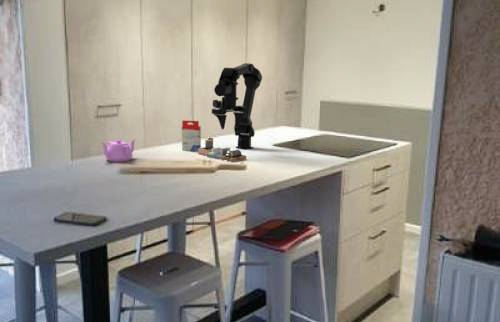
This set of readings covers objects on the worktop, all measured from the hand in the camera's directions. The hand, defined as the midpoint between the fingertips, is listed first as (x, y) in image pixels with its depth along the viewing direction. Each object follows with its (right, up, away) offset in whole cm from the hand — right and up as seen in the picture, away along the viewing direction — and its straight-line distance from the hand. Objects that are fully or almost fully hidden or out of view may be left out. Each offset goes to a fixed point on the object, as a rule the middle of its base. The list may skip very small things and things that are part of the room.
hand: (229, 128), depth 251 cm
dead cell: (-10, -12, -1) cm, 15 cm away
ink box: (-19, -10, +8) cm, 23 cm away
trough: (+3, -15, -12) cm, 19 cm away
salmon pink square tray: (-10, -12, -1) cm, 16 cm away
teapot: (-47, -15, -18) cm, 53 cm away
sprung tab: (-2, -13, -9) cm, 15 cm away
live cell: (+3, -15, -12) cm, 19 cm away
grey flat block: (-3, -14, -7) cm, 16 cm away
